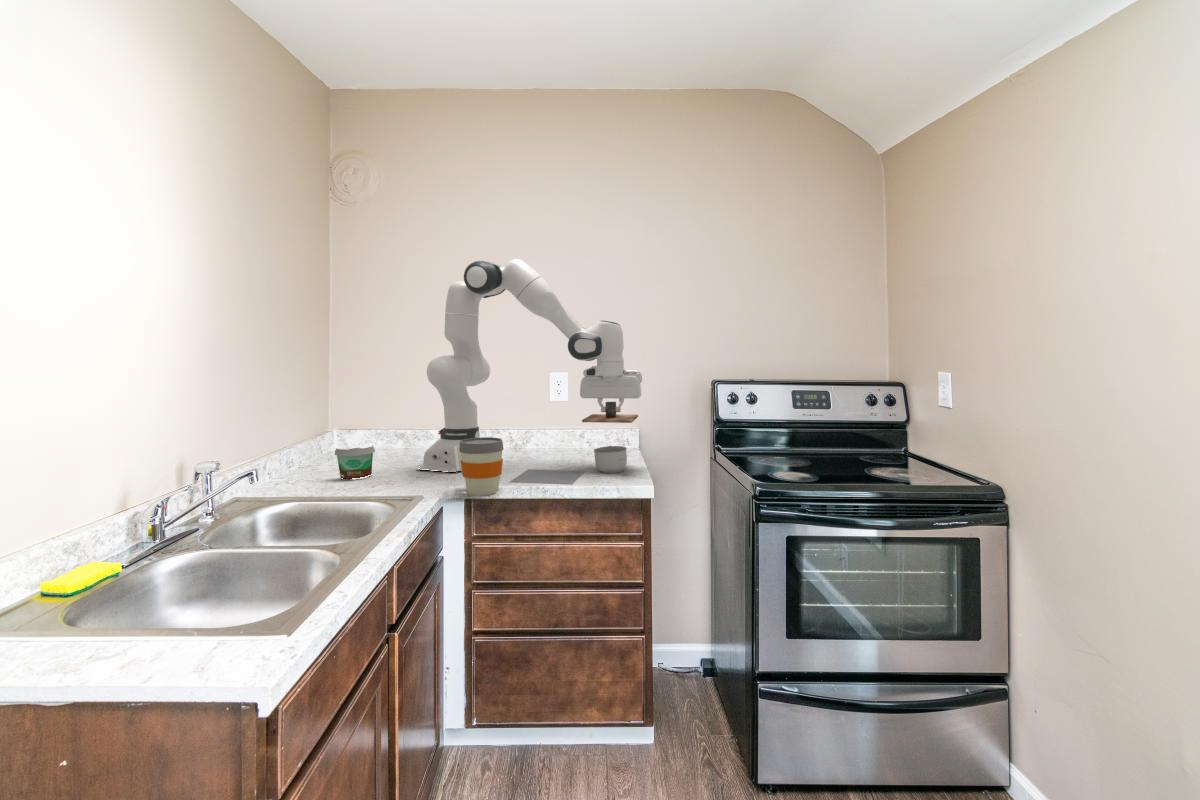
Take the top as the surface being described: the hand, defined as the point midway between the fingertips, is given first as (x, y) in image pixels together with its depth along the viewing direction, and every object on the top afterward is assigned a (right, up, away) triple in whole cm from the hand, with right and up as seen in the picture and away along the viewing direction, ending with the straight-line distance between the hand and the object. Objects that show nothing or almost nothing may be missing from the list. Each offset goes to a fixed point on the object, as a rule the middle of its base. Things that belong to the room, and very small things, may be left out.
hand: (610, 412), depth 204 cm
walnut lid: (0, -3, 0) cm, 3 cm away
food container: (-82, -22, -6) cm, 85 cm away
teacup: (0, -20, +2) cm, 20 cm away
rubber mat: (-20, -21, -7) cm, 30 cm away
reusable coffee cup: (-38, -23, -25) cm, 51 cm away
